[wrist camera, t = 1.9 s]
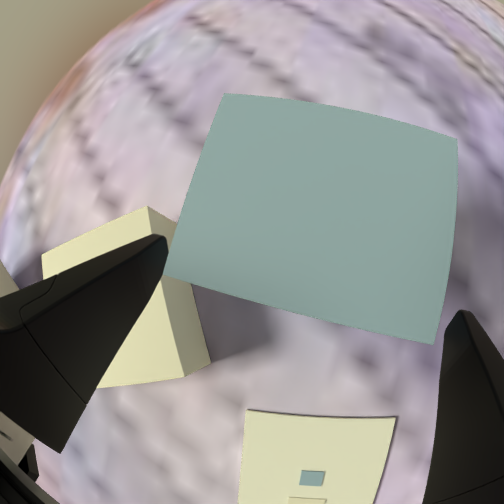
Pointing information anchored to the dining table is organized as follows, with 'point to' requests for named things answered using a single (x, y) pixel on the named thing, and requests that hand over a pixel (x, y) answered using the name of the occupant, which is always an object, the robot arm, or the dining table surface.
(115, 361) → the base brick
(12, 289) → the die
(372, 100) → the dining table surface
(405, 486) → the dining table surface
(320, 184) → the blue brick
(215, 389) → the dining table surface
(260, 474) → the plate
